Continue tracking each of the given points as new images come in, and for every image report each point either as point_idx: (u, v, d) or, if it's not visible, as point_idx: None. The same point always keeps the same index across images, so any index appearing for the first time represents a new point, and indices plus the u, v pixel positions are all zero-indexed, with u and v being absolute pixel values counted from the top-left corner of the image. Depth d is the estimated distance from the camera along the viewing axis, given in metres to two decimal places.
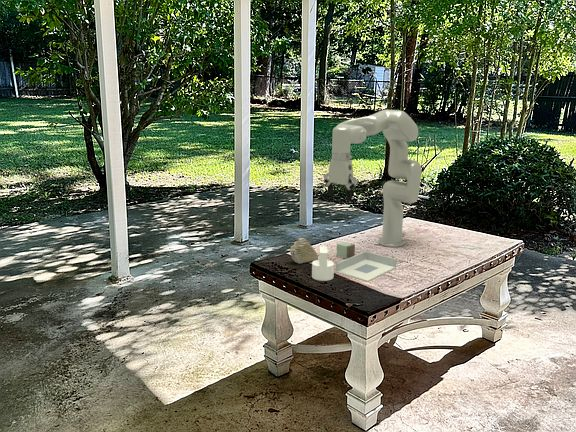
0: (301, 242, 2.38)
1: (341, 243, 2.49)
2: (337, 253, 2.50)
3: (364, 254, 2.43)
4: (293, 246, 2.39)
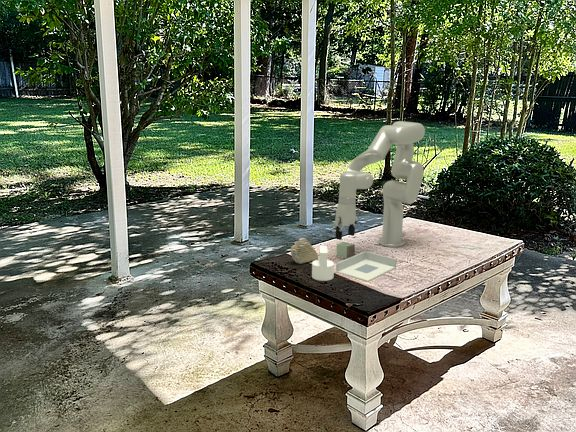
0: (302, 242, 2.38)
1: (341, 243, 2.49)
2: (337, 253, 2.50)
3: (364, 254, 2.43)
4: (294, 246, 2.39)
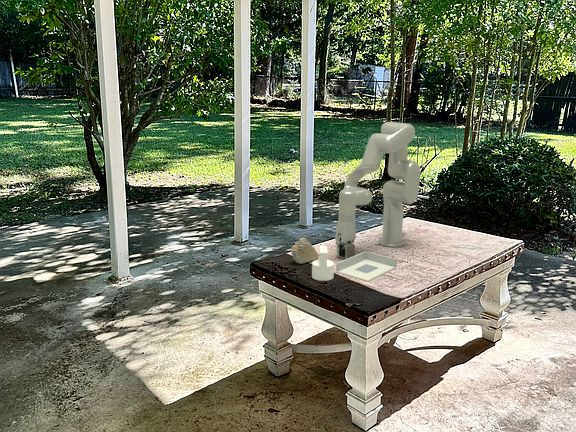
0: (302, 242, 2.38)
1: (341, 243, 2.49)
2: (337, 253, 2.50)
3: (364, 254, 2.43)
4: (294, 246, 2.39)
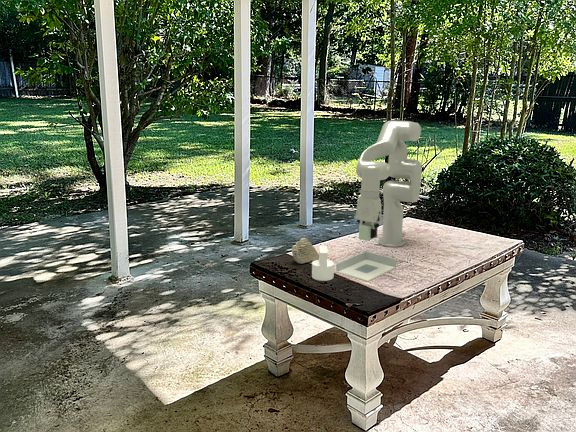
0: (303, 242, 2.38)
1: (366, 225, 2.26)
2: (368, 237, 2.26)
3: (364, 254, 2.43)
4: (295, 246, 2.39)
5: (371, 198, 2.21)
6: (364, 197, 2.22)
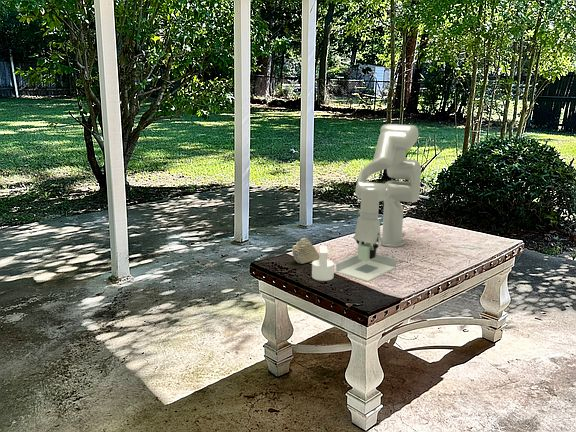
0: (303, 242, 2.38)
1: (365, 246, 2.28)
2: (367, 257, 2.28)
3: None
4: (295, 246, 2.39)
5: (370, 219, 2.23)
6: (363, 218, 2.25)
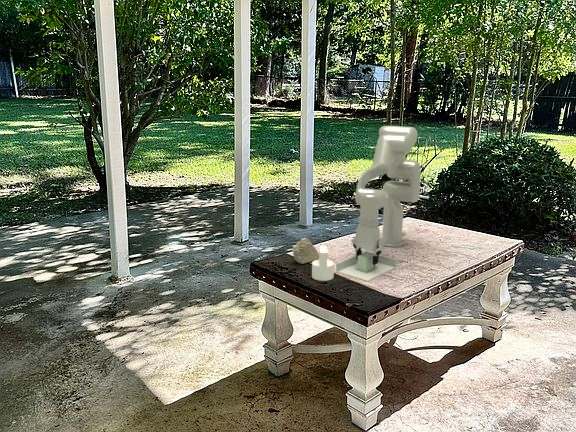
0: (304, 242, 2.38)
1: (364, 256, 2.30)
2: (366, 268, 2.29)
3: None
4: (296, 246, 2.39)
5: (370, 226, 2.24)
6: (363, 225, 2.25)
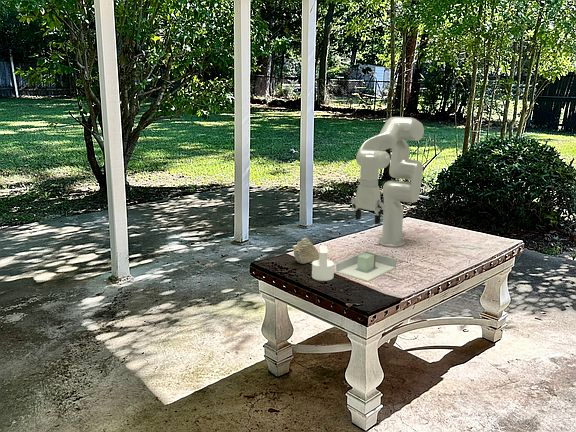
0: (304, 242, 2.38)
1: (364, 256, 2.30)
2: (366, 268, 2.29)
3: None
4: (296, 246, 2.39)
5: (370, 186, 2.25)
6: (363, 186, 2.26)
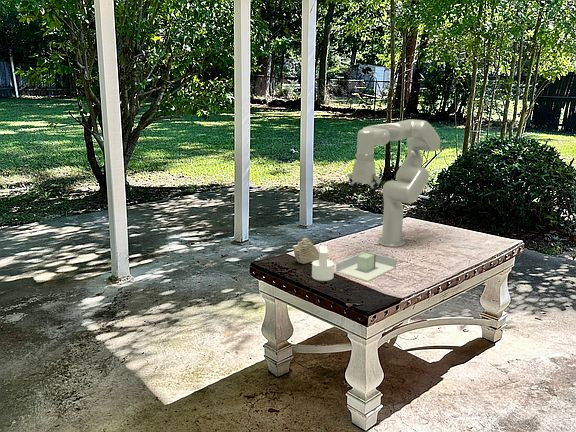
0: (305, 242, 2.38)
1: (364, 256, 2.30)
2: (366, 268, 2.29)
3: None
4: (297, 246, 2.38)
5: (366, 161, 2.39)
6: (359, 160, 2.40)
